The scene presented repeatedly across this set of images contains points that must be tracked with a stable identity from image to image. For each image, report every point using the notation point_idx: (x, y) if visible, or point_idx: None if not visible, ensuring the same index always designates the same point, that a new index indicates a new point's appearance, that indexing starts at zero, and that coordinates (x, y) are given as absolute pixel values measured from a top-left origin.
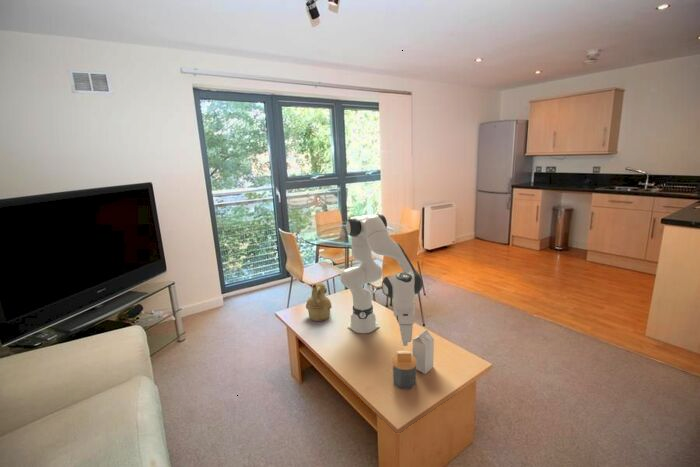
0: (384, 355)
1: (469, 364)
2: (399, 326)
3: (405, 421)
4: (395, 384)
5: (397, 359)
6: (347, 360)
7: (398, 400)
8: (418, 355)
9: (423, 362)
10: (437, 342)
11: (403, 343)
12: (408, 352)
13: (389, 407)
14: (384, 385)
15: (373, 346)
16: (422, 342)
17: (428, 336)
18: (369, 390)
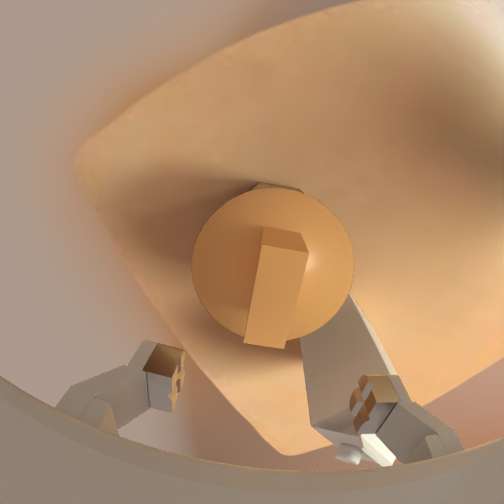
0: (450, 200)
1: (304, 437)
2: (360, 500)
3: (83, 185)
4: (252, 188)
5: (269, 230)
6: (439, 45)
7: (167, 179)
8: (337, 350)
9: (309, 350)
10: (430, 394)
11: (135, 356)
12: (260, 329)
13: (139, 139)
14: (263, 140)
15: (499, 176)
16: (341, 421)
17: (348, 461)
18: (242, 73)
